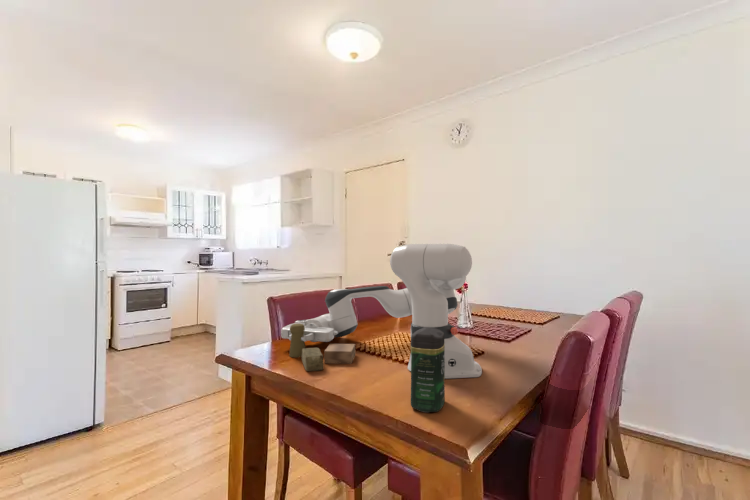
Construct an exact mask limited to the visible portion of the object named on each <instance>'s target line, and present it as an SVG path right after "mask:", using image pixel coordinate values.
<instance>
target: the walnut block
mask: <svg viewBox="0 0 750 500" xmlns="http://www.w3.org/2000/svg"><path fill="white" fill-rule="evenodd" d="M323 353H324V354H323V364H343V365H345V364H350V365H351V364H352V363H353V361H354V359H355V357H356V343H329V344H328V346H327V347H326V348H325V349H324V351H323Z"/></svg>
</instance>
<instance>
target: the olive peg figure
mask: <svg viewBox="0 0 750 500" xmlns="http://www.w3.org/2000/svg"><path fill="white" fill-rule="evenodd" d="M292 324H293V323H292ZM304 331H305V327H304V325H303V324H293V325H291V326H290V332H291V334H292V335H291V340H290V347H289V355H288V356H289V357H290V358H302V349H303V348H306V343H305V342H306V341H305V342H304V341H301V336H303V333H304Z"/></svg>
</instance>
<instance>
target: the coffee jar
mask: <svg viewBox="0 0 750 500" xmlns="http://www.w3.org/2000/svg"><path fill="white" fill-rule="evenodd" d="M410 355H411V371H410V406H411V407H412V409H415V410H417V411H419V412H423V413H430V412H431V413H432V412H439V411H441V410H442V408H443V407H444V405H445V402H446V401H445V399H446V398H445V397H446V395H445V393H446V390H445V387H446V386H445V385H446V384H445V380H446V379H445V341H444V333H443V332H442V331H441V330H440V329H439V328H433V327H423V328H422V329H419V330H417V331H416V332H414V333H413V334H412V335H411V334H410Z"/></svg>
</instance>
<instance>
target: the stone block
mask: <svg viewBox="0 0 750 500" xmlns="http://www.w3.org/2000/svg"><path fill="white" fill-rule="evenodd" d="M301 362H302V364H303V367H304V370H305V372H306V371H307V372H319V371H323V370H324V354H323V353H322V352H321V349H320V348H319V347H305V348H303V349H302V357H301Z"/></svg>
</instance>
